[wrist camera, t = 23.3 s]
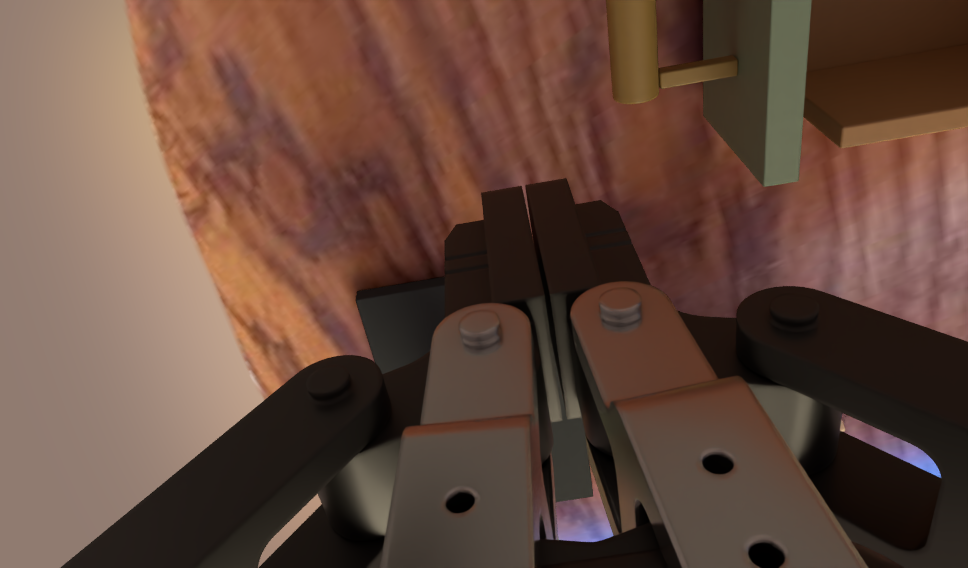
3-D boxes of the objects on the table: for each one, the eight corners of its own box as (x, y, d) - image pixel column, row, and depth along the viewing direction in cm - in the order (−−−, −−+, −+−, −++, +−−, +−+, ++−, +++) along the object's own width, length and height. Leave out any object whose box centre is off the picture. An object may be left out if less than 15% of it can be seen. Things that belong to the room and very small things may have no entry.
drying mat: (356, 290, 36) (354, 299, 35) (562, 256, 35) (565, 265, 35) (424, 511, 44) (424, 522, 44) (591, 486, 44) (593, 497, 43)
